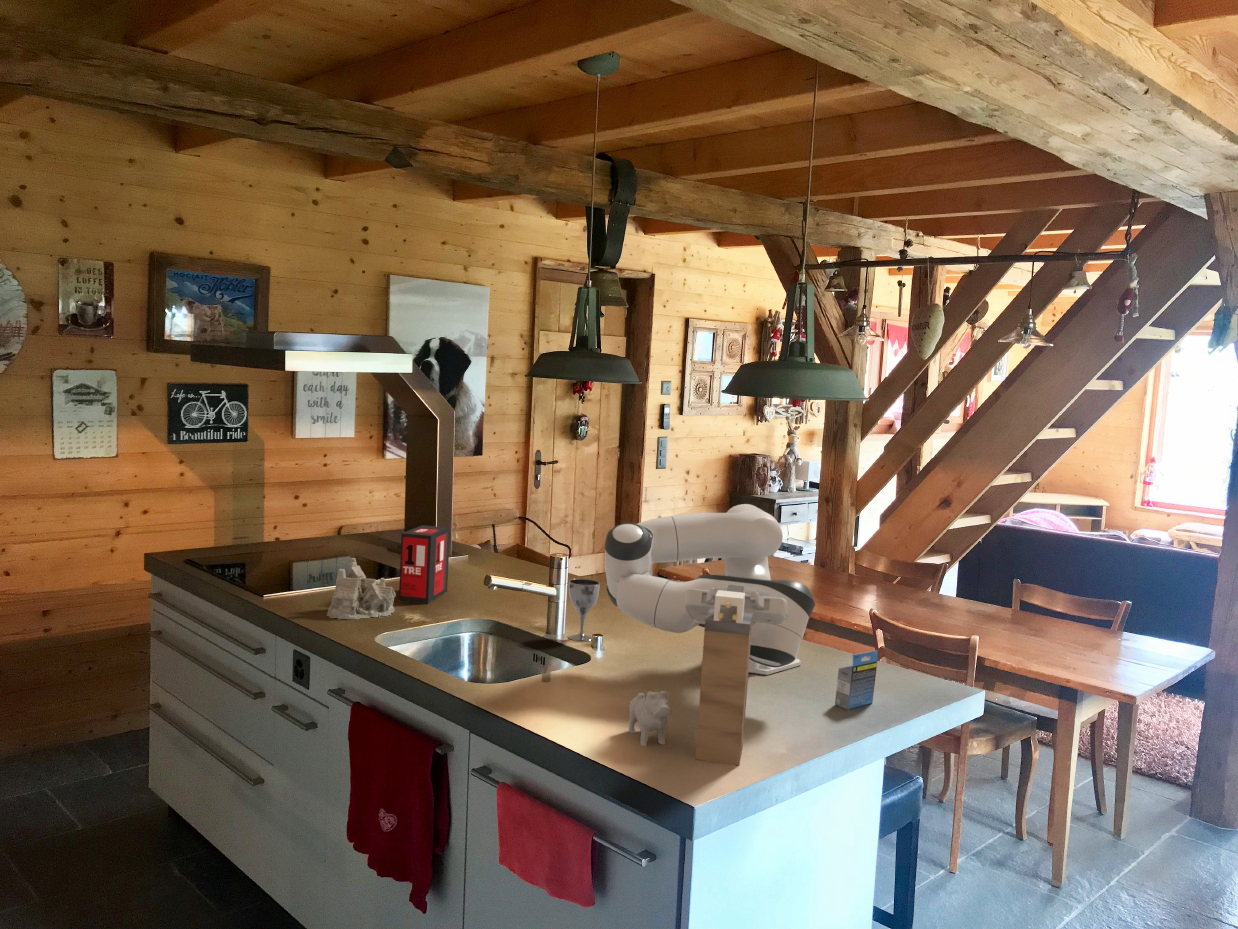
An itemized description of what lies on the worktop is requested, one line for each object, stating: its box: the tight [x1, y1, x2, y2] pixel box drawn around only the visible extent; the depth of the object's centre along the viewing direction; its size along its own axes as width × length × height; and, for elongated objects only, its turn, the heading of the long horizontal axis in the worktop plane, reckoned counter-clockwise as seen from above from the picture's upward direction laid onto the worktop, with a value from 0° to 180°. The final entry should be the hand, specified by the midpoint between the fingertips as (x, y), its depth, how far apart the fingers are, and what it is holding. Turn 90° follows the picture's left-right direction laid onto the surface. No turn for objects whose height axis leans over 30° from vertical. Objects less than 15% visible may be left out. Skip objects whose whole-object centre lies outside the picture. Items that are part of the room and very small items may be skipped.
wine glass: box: [567, 577, 601, 643], centre depth 249 cm, size 8×8×15 cm
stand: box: [694, 608, 753, 766], centre depth 176 cm, size 9×8×26 cm
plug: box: [714, 585, 745, 623], centre depth 178 cm, size 20×5×4 cm, turn 169°
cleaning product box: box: [398, 525, 451, 605], centre depth 283 cm, size 16×9×20 cm, turn 171°
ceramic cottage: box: [326, 557, 397, 620], centre depth 260 cm, size 16×16×15 cm
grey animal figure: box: [628, 690, 672, 747], centre depth 181 cm, size 5×13×11 cm, turn 20°
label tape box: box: [834, 649, 879, 711], centre depth 209 cm, size 9×4×12 cm, turn 128°
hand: (734, 594), depth 185 cm, fingers open, 6 cm apart
